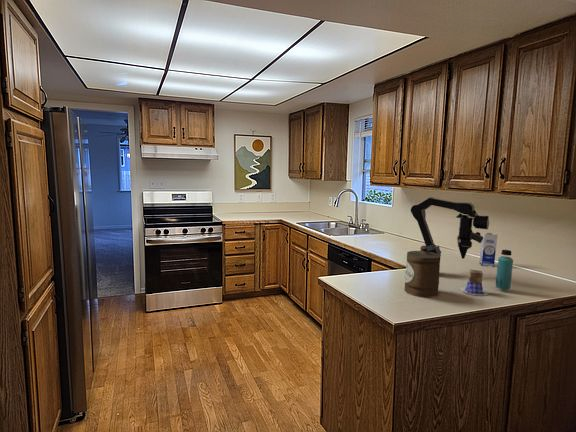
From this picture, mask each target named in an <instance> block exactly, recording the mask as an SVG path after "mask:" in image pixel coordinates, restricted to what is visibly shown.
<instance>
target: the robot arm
mask: <svg viewBox="0 0 576 432" xmlns="http://www.w3.org/2000/svg"><path fill="white" fill-rule="evenodd" d="M432 206H434V207H440V208H444V209H450V210H453V211H456V212H457V213H458V214H457V216H455V217H456V219H458V218H459V228H458V235H457V238H456V240H457V247H458V250H459V254H460V256H461V257H460V258H461V259H465V258H466V255H467V253H468V250H469V249H471V248H472V247H473V242H472V240H474V241H476V242H477V243H479V244H482V240H483V236H482V234H481V232H479V231H476V232H474V231H473V230H472V229H473V228H472V227H474V229H479V230H489V227H490V226H489V225H490V218H489V217H490V216H489V215H479V214H478V212H477V211H476V209H475V205H474V204H473V203H472V202H459V201H458V202H456V201H451V200H446V199H441V198H440V199H439V198H435V197H428V198H427V199H425V200H422V202H420V203H419V204H414V205H412V206H411V207H410V214H412V216H413V218H414V219H415V220H416V221H417V225H418V227H419V229H420V233H421V237H422V239H423V242H424V246H426V247H428V250H427V251H428V252H432V253H436V254H439V255H440V258H441V257H442V254H441V253H442V251H441V249H440V248H441V247H440V246H439V245H436V244H435V242H434V240H433V236H432V234H431V231H430V228H429V225H428V223H427V220H426V219H427V218H426V217H427V216H426V210H427V209H429V208H430V207H432Z"/></svg>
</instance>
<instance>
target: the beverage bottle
mask: <svg viewBox="0 0 576 432" xmlns="http://www.w3.org/2000/svg"><path fill="white" fill-rule="evenodd" d="M501 255H502V256H500V257H498V259H497V261H498V262H497V265H496V266H497V269H496V276H495V284H494V285H495V288H497V289H501V290H505V291H507V290H508V291H509V290H510V289H511V287H512V276H513V275H512V273H513V266H514V265H513V264H514V259H513V258H512V257H510V256H512V251H511V250H510V249H502V250H501Z"/></svg>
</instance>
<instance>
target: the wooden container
mask: <svg viewBox="0 0 576 432" xmlns="http://www.w3.org/2000/svg"><path fill="white" fill-rule="evenodd" d="M427 250H428V247H426V245H421V246H420V250H410V251H407V252H406V263H405V275H404V276H405V277H404V278H405V279H404V291H405V293H407V294H409V295H411V296H415V297H420V298H434V297H437V296H438V295H439V284H440V272H441V271H440V268H441V267H440V266H441V257H440V255H439V254H436V253H432V252H428V251H427Z"/></svg>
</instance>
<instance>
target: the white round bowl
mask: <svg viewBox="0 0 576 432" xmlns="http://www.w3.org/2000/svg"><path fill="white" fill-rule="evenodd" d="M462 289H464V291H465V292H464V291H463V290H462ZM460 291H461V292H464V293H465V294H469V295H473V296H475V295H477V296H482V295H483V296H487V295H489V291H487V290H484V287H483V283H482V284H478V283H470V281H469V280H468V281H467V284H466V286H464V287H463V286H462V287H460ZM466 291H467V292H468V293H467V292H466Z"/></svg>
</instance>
